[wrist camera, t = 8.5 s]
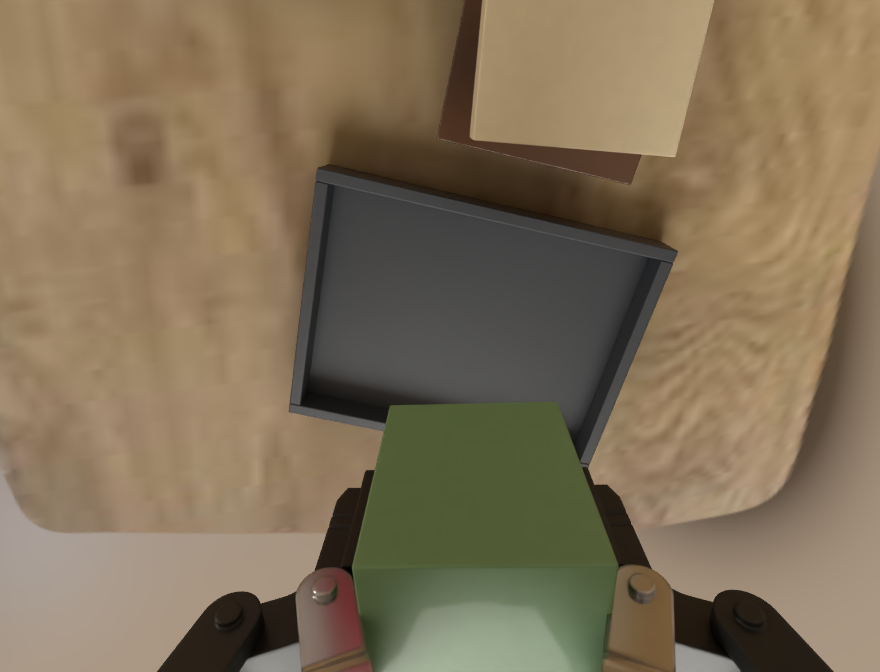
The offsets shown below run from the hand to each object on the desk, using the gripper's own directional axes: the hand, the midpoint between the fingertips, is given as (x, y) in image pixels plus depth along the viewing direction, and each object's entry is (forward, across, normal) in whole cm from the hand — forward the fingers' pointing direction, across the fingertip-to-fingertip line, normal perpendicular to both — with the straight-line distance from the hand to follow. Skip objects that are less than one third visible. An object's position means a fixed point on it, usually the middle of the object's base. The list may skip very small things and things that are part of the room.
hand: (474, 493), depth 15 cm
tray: (+14, 0, 0) cm, 14 cm away
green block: (+1, 0, 0) cm, 1 cm away
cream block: (+9, -4, -12) cm, 16 cm away
